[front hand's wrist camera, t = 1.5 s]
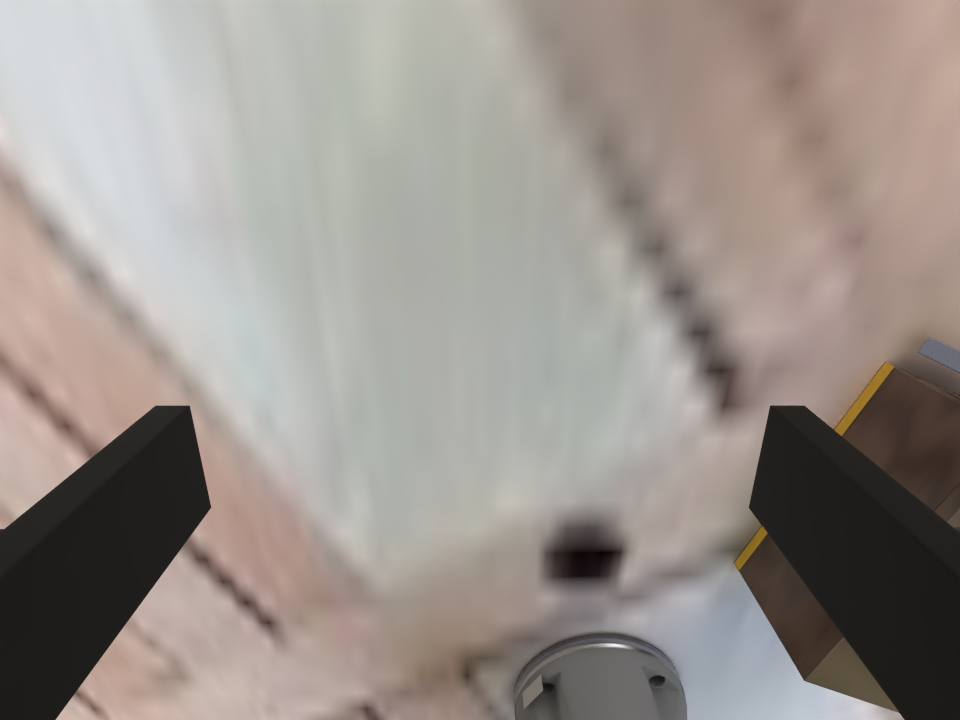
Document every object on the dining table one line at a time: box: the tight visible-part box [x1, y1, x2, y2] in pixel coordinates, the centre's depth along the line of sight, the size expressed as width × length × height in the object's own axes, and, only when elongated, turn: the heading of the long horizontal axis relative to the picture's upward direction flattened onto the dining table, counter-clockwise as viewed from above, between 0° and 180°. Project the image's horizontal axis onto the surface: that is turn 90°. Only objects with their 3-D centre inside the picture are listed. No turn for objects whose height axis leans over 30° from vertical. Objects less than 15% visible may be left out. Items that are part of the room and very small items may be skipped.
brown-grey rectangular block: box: [734, 362, 960, 713], centre depth 38 cm, size 19×11×11 cm, turn 157°
